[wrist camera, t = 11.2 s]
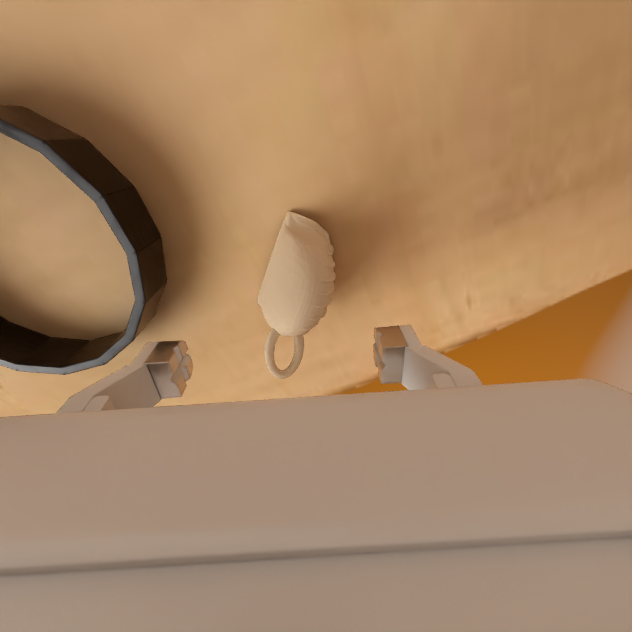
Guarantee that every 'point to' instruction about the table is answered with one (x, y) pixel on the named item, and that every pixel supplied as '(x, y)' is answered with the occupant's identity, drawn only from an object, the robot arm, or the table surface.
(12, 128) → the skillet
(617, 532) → the robot arm
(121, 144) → the table surface
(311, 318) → the decorative ornament
